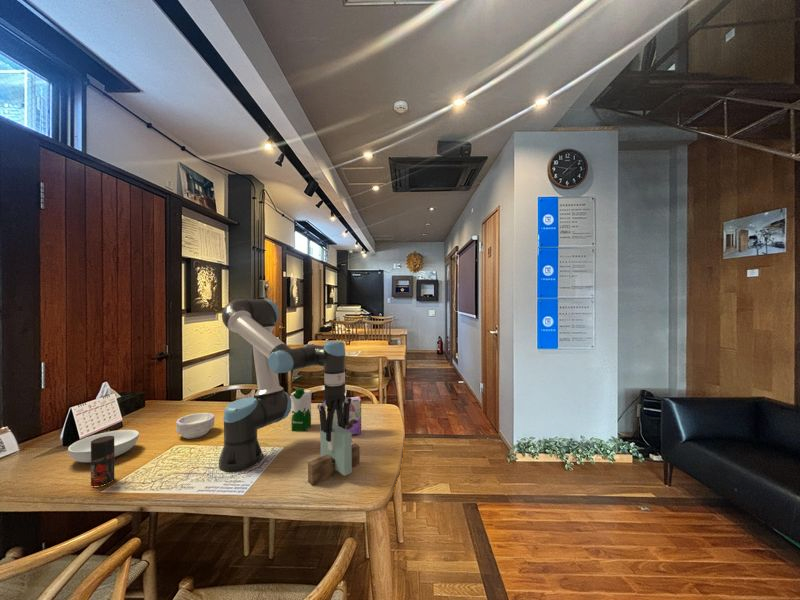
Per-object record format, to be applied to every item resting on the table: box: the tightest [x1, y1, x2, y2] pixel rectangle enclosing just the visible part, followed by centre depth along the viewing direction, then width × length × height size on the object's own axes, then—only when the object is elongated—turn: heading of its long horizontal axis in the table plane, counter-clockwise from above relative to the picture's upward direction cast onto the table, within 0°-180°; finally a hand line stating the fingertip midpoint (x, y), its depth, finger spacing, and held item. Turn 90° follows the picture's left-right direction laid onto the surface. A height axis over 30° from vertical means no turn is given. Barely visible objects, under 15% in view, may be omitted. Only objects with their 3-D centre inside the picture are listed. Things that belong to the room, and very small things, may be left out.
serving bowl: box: [67, 429, 140, 463], centre depth 126 cm, size 21×21×7 cm
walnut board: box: [307, 443, 361, 486], centre depth 113 cm, size 20×3×7 cm, turn 134°
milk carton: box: [290, 387, 313, 432], centre depth 153 cm, size 9×9×20 cm
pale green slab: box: [319, 423, 353, 476], centre depth 113 cm, size 3×16×14 cm, turn 44°
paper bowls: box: [175, 412, 215, 440], centre depth 146 cm, size 15×15×8 cm
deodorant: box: [90, 436, 115, 488], centre depth 108 cm, size 6×6×15 cm
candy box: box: [333, 396, 362, 436], centre depth 146 cm, size 14×6×16 cm, turn 105°
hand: (335, 447), depth 113 cm, fingers closed on pale green slab, 3 cm apart
